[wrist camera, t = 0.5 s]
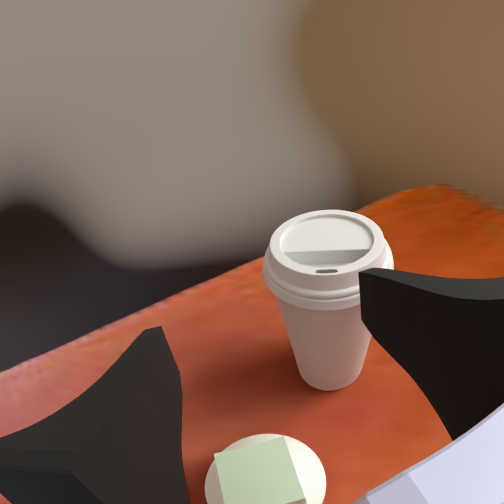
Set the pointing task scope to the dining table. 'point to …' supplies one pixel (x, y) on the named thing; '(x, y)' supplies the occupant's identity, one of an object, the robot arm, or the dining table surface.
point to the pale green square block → (259, 474)
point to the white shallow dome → (303, 461)
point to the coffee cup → (325, 290)
